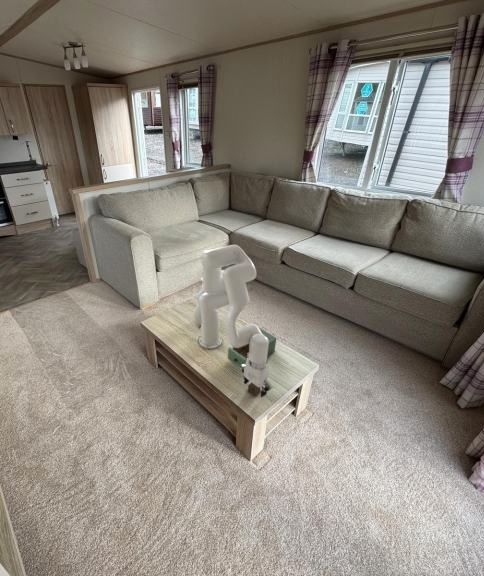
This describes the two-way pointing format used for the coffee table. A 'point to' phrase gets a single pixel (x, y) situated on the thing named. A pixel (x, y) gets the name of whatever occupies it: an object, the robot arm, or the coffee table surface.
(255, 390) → the block
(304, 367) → the coffee table surface
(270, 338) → the cabinet
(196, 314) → the soap bottle
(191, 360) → the coffee table surface
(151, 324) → the coffee table surface
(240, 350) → the drawer
